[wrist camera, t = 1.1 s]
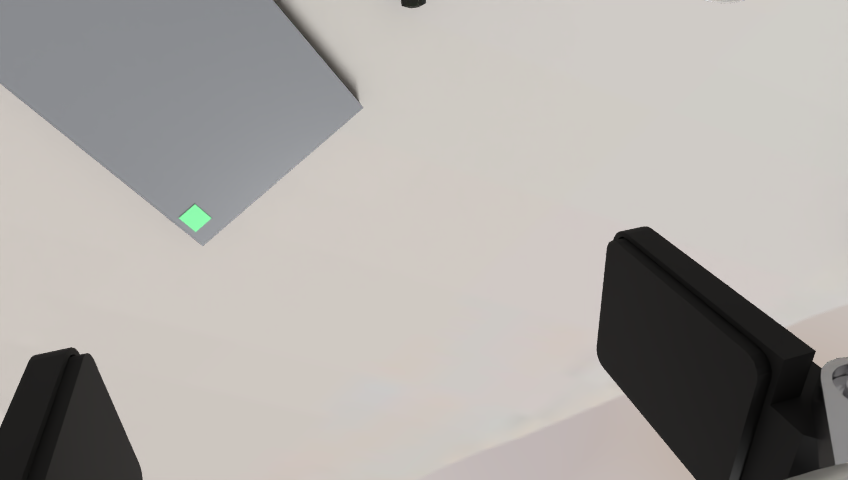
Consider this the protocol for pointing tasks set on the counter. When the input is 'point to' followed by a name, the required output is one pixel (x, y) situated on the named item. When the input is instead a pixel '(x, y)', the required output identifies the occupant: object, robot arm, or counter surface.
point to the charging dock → (176, 95)
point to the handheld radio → (412, 3)
